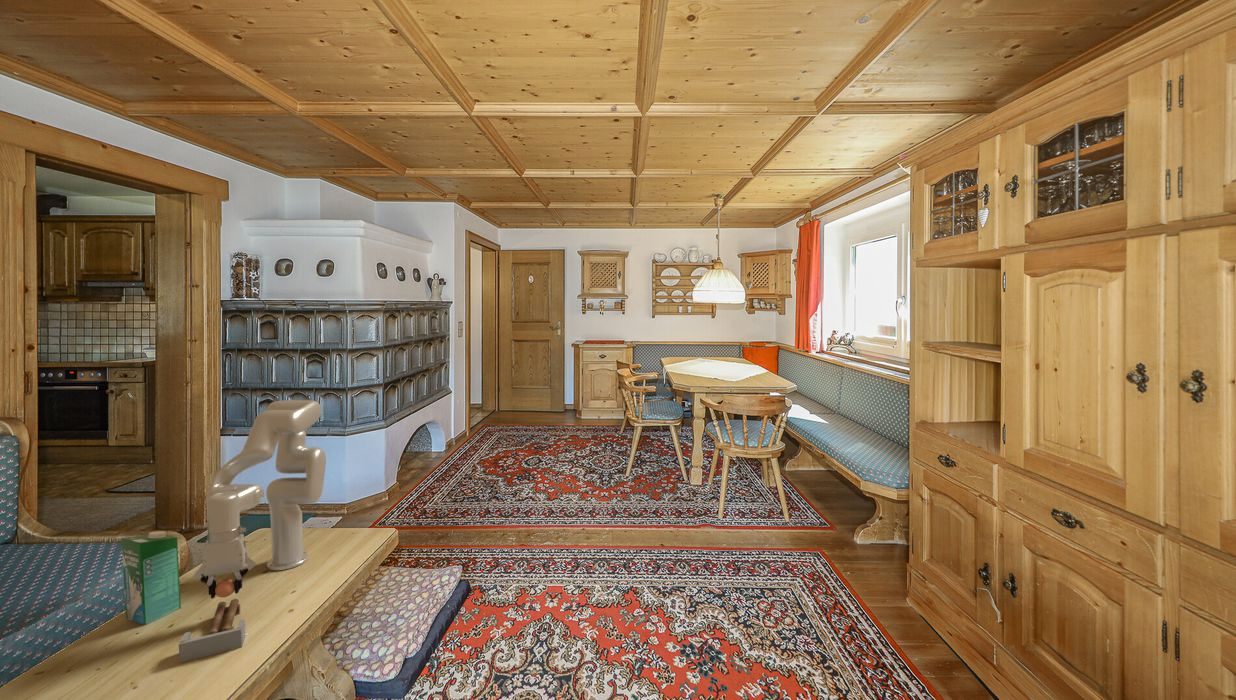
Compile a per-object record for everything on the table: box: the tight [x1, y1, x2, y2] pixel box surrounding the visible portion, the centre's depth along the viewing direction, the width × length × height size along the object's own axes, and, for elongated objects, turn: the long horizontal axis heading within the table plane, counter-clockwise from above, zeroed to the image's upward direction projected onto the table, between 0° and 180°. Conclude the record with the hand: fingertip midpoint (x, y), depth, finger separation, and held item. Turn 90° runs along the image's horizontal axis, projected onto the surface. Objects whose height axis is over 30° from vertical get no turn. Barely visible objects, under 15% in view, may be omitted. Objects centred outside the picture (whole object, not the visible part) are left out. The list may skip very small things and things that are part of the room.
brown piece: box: [207, 598, 241, 635], centre depth 140 cm, size 12×6×4 cm, turn 29°
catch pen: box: [178, 618, 247, 663], centre depth 130 cm, size 5×13×5 cm, turn 119°
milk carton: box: [121, 530, 182, 626], centre depth 144 cm, size 9×9×25 cm
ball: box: [215, 578, 235, 598], centre depth 143 cm, size 5×5×5 cm
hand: (225, 593), depth 144 cm, fingers closed on ball, 4 cm apart
